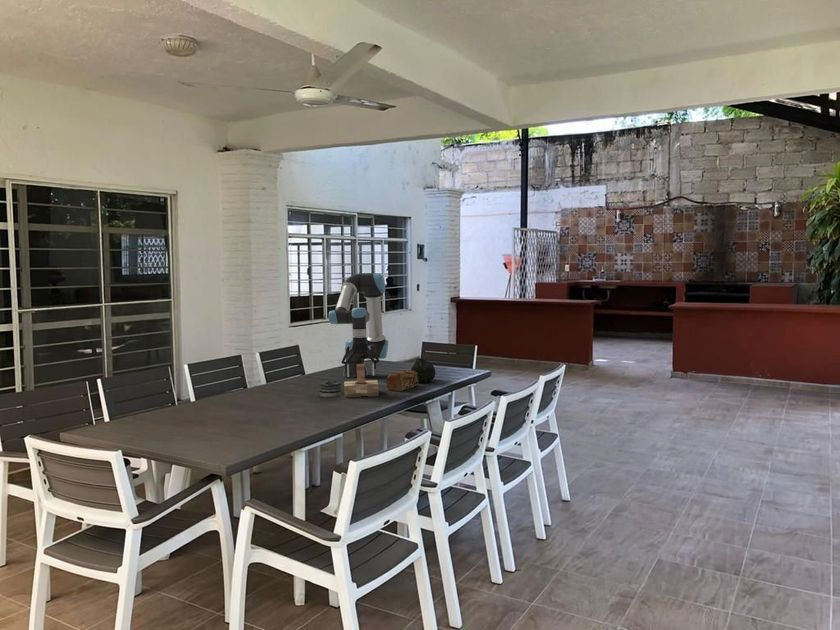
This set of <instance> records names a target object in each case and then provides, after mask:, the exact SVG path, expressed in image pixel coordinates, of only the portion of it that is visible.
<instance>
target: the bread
mask: <svg viewBox="0 0 840 630" xmlns="http://www.w3.org/2000/svg"><path fill="white" fill-rule="evenodd" d="M418 384H419V383H418V373H417V372H415V371H412V370H411V369H404V370H397V371H395V372H392V373H390V374H389V375H388V376H387V377H386V386H387V387H386V388H387V390H389V391H392V390H393V392H394V391H395V392H403V391H406V389H407V390H410V389H413V388H414V386H415V387H417V386H418ZM412 387H413V388H412ZM409 388H410V389H409Z"/></svg>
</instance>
